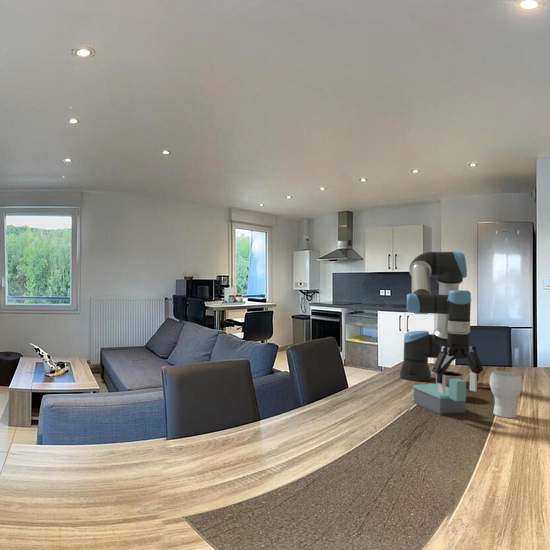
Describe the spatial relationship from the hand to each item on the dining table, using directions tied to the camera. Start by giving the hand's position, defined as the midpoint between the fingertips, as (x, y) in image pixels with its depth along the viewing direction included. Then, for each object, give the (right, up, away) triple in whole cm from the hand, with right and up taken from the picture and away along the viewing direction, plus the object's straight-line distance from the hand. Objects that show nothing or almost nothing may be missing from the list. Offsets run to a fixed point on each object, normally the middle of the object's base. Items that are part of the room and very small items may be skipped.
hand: (457, 391), depth 160 cm
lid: (-2, -3, +8) cm, 9 cm away
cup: (+19, -10, +3) cm, 21 cm away
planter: (+8, -9, +28) cm, 31 cm away
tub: (-3, -9, +10) cm, 14 cm away
